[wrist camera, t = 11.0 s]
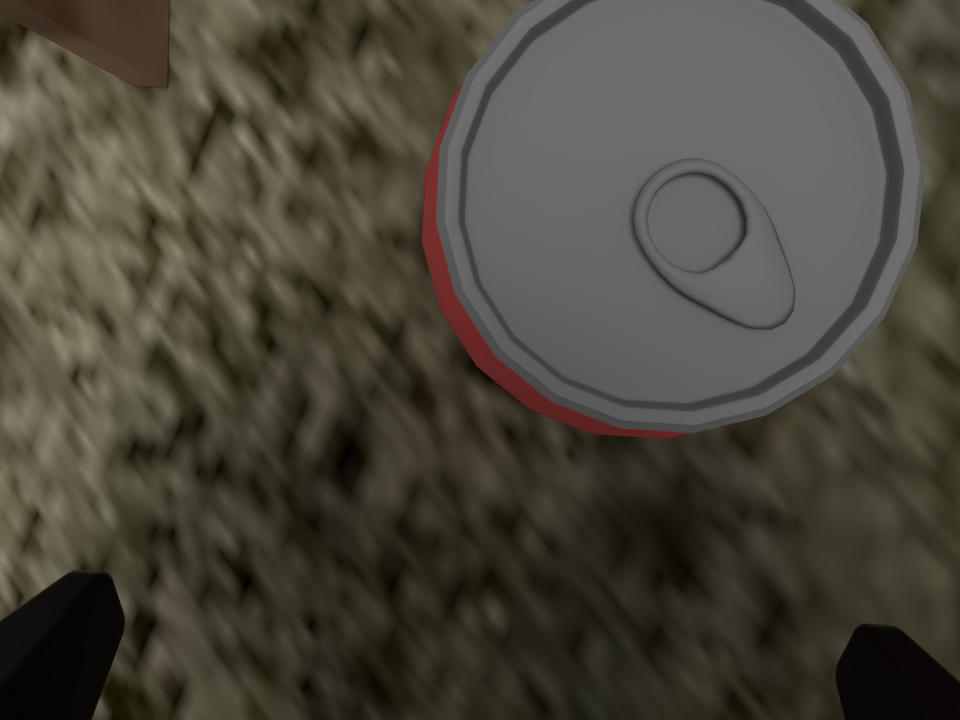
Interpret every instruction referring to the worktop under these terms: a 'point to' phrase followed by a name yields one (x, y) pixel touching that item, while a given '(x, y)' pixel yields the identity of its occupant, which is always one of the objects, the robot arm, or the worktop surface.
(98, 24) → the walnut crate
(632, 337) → the beer can
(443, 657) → the worktop surface
